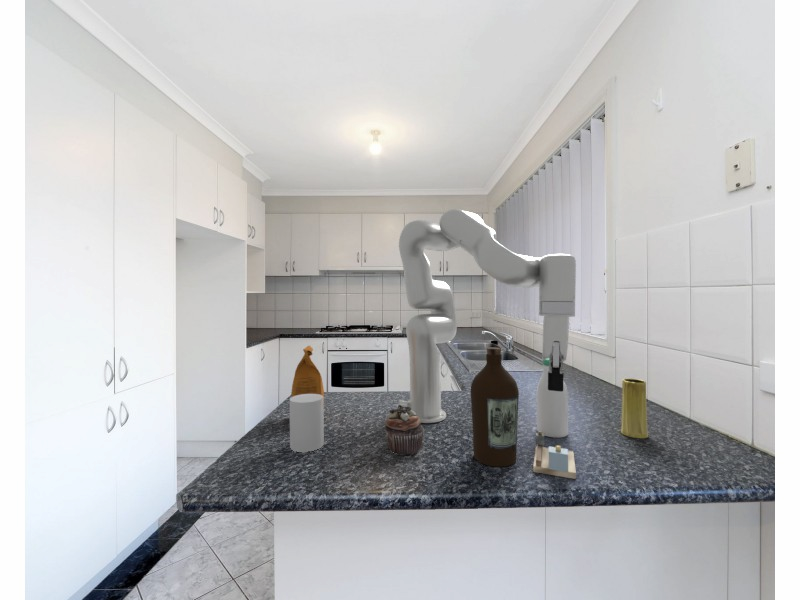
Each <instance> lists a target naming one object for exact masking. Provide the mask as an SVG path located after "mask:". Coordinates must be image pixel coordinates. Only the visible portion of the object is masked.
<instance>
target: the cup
mask: <svg viewBox="0 0 800 600" xmlns="http://www.w3.org/2000/svg"><path fill="white" fill-rule="evenodd" d="M324 410H325V406H324V407H323V396H322V395H320V394H301V395H296V396H293V397H291V396H290V398H289V449H290V448H291V449H292V450H293V451H297V452H308V451H314V450H317V449H319V448H321V447H322V446H323V445H324V446H325V435H324V433H325V431H324V430H325V428H324V427H325V426H324V425H325V423H324V422H325V421H324V420H325V419H324V418H325V417H324V415H325V414H324ZM324 446H323V447H324ZM323 447H322V448H323ZM322 448H321V449H322ZM319 450H320V449H319ZM293 451H292V452H293ZM317 451H318V450H317ZM314 452H315V451H314Z"/></svg>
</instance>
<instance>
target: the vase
mask: <svg viewBox="0 0 800 600" xmlns="http://www.w3.org/2000/svg"><path fill="white" fill-rule="evenodd" d="M621 385H622V386H621V387H622V391H621V392H622V393H621V394H622V397H621V398H622V401H621V429H620V432H621V434H622V435H624V436H626V437H629V438H633V439H646V438H648V437H649V433H648V414H647V413H648V412H647V411H648V410H647V407H648V406H647V382H646V381H645V380H643V379H640V378H639V379H638V378H622V384H621Z"/></svg>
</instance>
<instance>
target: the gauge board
mask: <svg viewBox="0 0 800 600" xmlns="http://www.w3.org/2000/svg"><path fill="white" fill-rule="evenodd" d="M535 444H536V446H535V449H534V450H535V451H534V458H533V466H532V467H533V470H532V471H533V473H540V474H545V475H551V476H555V477H561V478H568V479H574V480H577V472H576V464H575V463H576V462H575V455H574V451H573V450H568V472H563V471H557V470H551V469H549V447H544V446H545V436H544V434H542V432H540V431H539V432H538V431H537V432H536V433H535Z"/></svg>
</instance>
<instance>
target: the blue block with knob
mask: <svg viewBox="0 0 800 600" xmlns="http://www.w3.org/2000/svg"><path fill="white" fill-rule="evenodd" d="M548 448H549V469H551V470H557V471H563V472H568V451H569V449H568V448H562V447H561V445H555V447H554V446H550V445H549V446H548Z"/></svg>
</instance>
